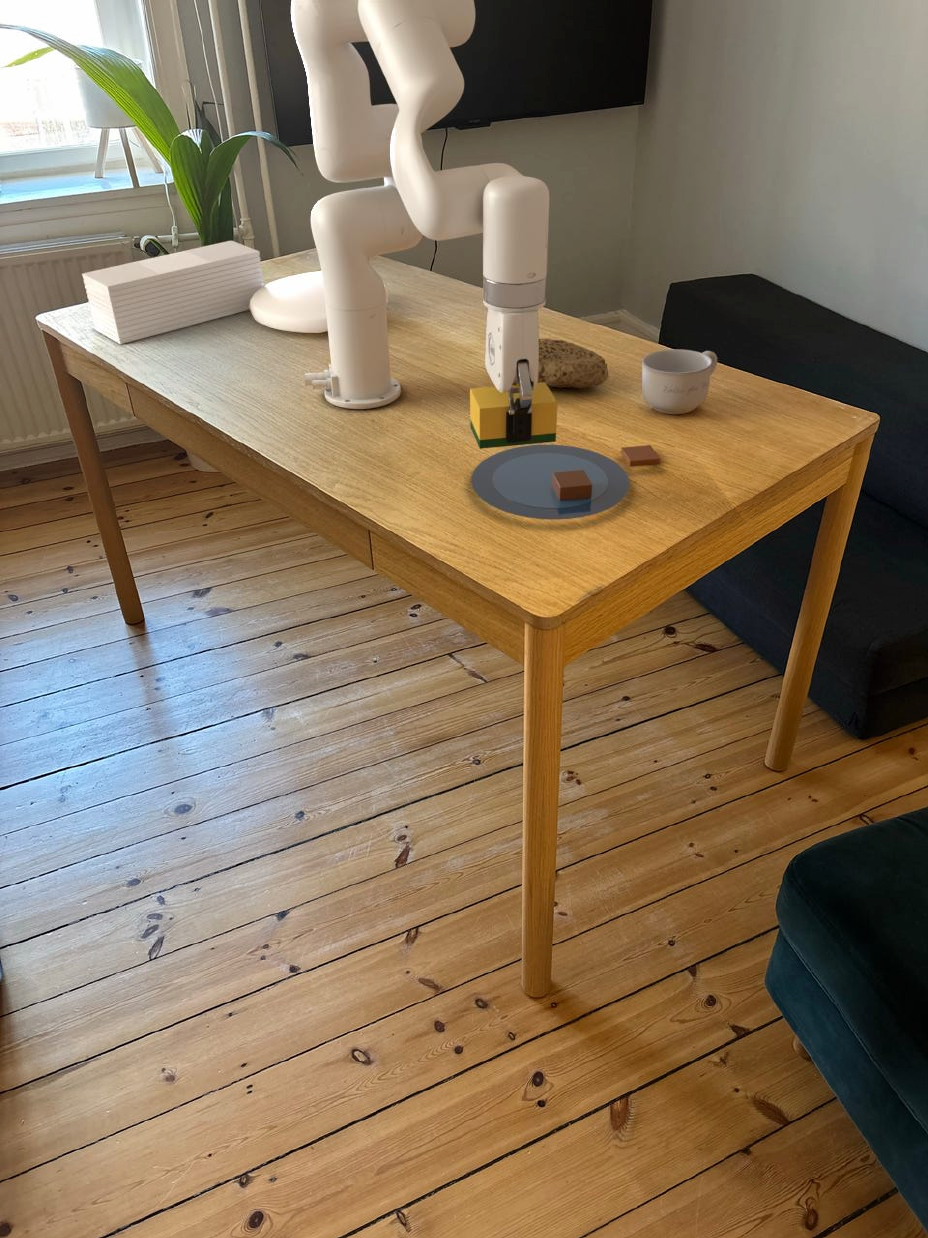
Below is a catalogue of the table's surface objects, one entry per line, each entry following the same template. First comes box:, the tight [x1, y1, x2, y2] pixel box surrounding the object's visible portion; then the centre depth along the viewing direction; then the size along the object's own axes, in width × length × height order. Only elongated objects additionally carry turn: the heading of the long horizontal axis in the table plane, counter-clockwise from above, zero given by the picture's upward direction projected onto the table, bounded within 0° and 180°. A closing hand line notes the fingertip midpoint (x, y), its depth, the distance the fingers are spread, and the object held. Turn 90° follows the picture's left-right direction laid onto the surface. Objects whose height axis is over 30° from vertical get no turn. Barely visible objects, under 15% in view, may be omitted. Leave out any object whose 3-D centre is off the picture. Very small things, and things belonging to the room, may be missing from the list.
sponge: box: [537, 338, 610, 389], centre depth 165 cm, size 13×8×20 cm
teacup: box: [641, 348, 718, 415], centre depth 156 cm, size 14×11×8 cm
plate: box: [249, 270, 390, 334], centre depth 194 cm, size 28×6×27 cm
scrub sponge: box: [469, 382, 558, 450], centre depth 127 cm, size 10×6×6 cm, turn 100°
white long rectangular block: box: [81, 240, 265, 345], centre depth 192 cm, size 32×11×11 cm, turn 132°
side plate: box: [470, 444, 631, 521], centre depth 136 cm, size 22×22×1 cm
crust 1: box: [552, 470, 592, 501], centre depth 132 cm, size 4×4×2 cm
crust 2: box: [620, 444, 661, 467], centre depth 141 cm, size 4×4×2 cm
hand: (512, 427), depth 128 cm, fingers closed on scrub sponge, 6 cm apart
